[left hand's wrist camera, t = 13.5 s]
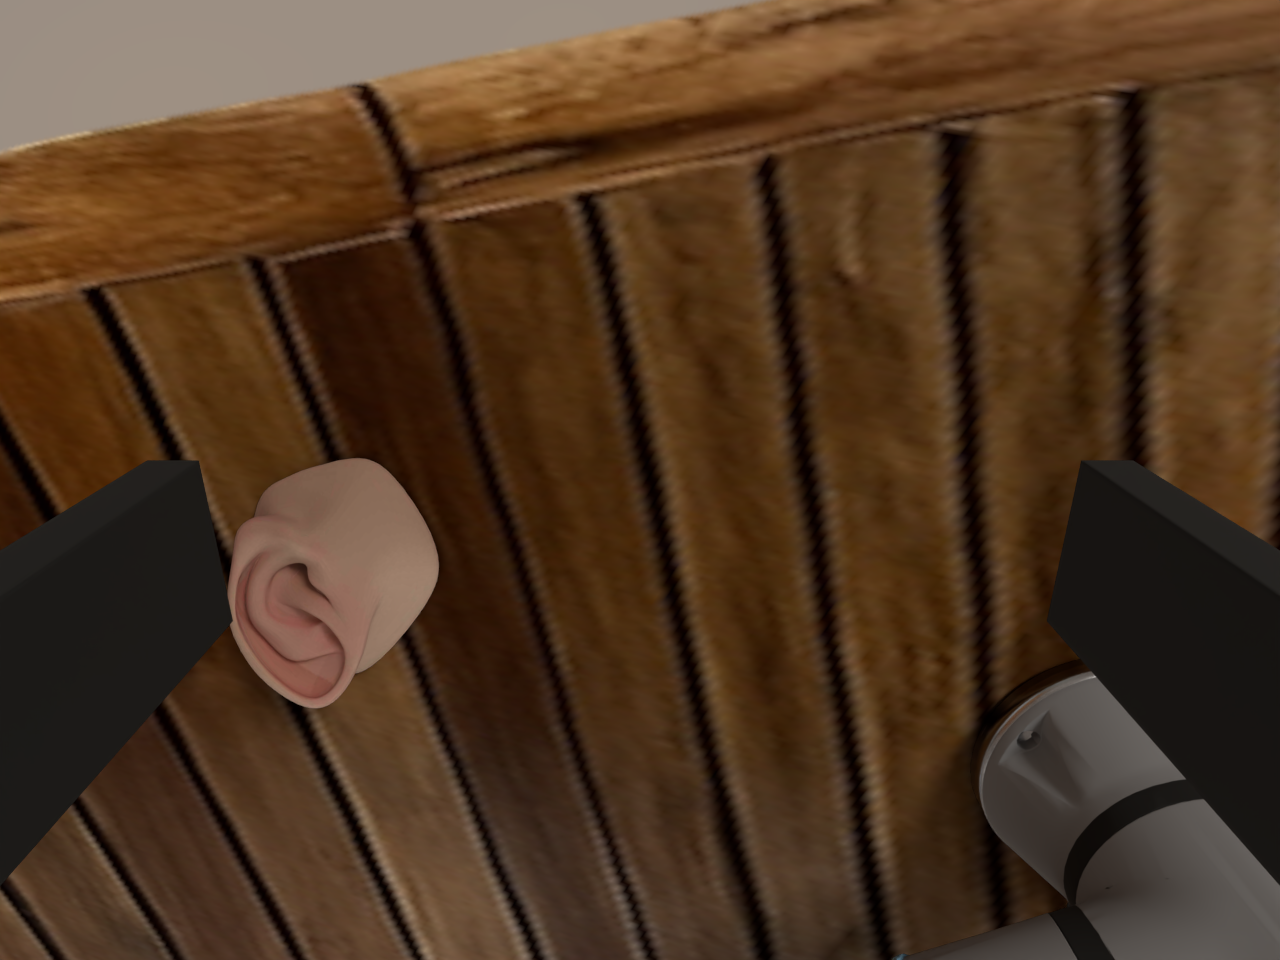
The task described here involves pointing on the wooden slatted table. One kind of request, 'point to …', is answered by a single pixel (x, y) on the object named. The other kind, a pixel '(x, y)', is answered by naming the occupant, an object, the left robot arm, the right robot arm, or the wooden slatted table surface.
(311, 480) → the anatomical model
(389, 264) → the wooden slatted table surface
